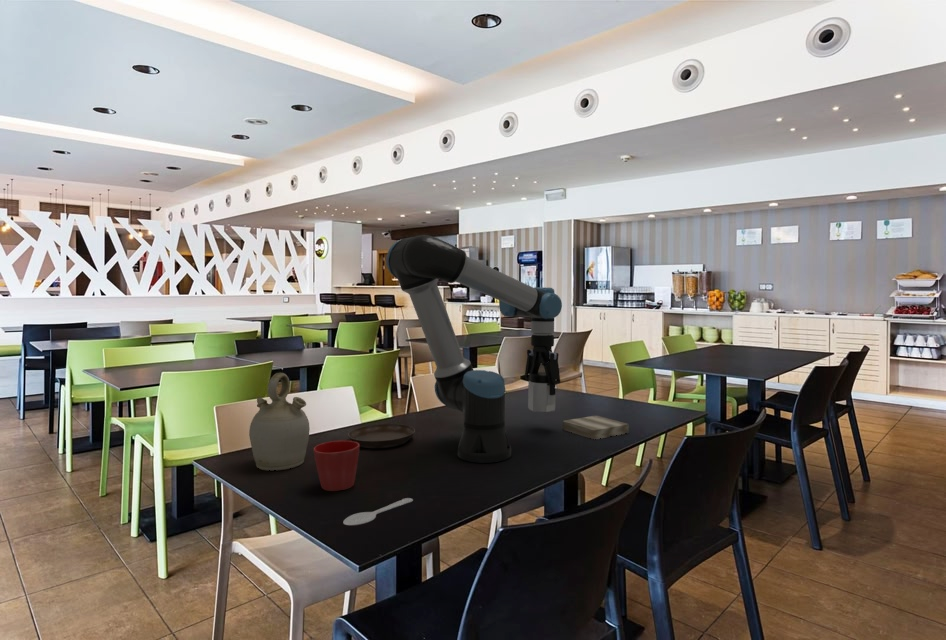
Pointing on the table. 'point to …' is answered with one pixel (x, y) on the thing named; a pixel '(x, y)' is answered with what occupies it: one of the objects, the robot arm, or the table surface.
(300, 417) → the jug
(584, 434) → the base board
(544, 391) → the jar
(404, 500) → the spoon
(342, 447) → the flower pot
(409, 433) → the plant saucer
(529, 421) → the table surface
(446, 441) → the table surface
